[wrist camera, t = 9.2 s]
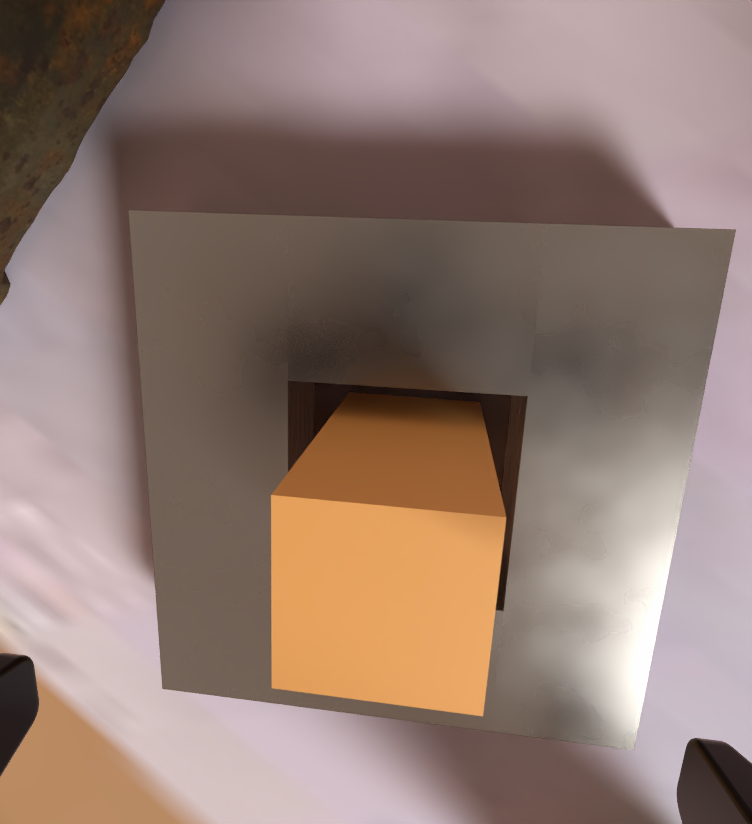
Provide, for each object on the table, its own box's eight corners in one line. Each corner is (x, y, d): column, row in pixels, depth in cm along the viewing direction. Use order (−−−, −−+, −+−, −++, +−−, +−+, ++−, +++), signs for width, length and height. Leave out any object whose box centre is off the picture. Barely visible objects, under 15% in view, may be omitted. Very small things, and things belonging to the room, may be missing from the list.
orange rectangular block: (479, 402, 17) (506, 517, 9) (468, 522, 18) (483, 716, 10) (349, 392, 17) (271, 494, 10) (344, 511, 18) (271, 688, 11)
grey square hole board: (680, 236, 15) (736, 229, 12) (605, 675, 19) (633, 749, 16) (183, 219, 17) (128, 210, 14) (203, 628, 20) (162, 688, 17)
